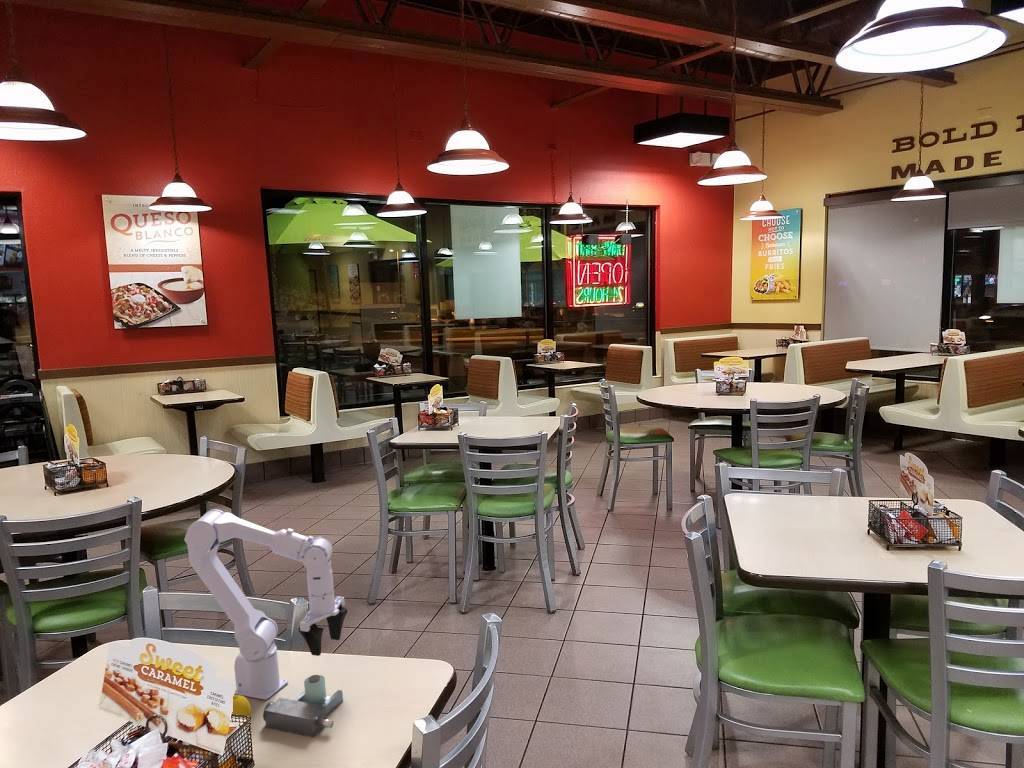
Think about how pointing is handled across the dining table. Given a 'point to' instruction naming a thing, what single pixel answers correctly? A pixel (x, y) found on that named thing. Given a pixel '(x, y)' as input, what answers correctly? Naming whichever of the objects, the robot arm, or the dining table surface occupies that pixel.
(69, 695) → the dining table surface
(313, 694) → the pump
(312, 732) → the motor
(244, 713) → the lemon
